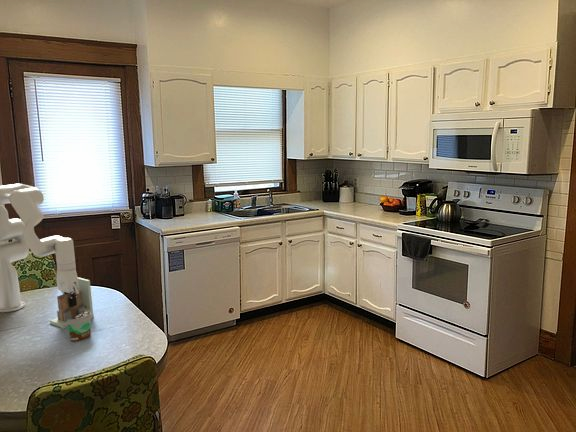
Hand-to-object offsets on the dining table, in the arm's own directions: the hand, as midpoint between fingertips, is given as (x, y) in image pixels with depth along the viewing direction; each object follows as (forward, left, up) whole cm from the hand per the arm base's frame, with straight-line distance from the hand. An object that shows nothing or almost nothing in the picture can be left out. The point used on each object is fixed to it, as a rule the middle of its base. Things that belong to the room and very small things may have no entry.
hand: (70, 305), depth 222 cm
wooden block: (0, 0, -6) cm, 6 cm away
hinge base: (0, 0, -7) cm, 7 cm away
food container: (+21, -8, -7) cm, 24 cm away
